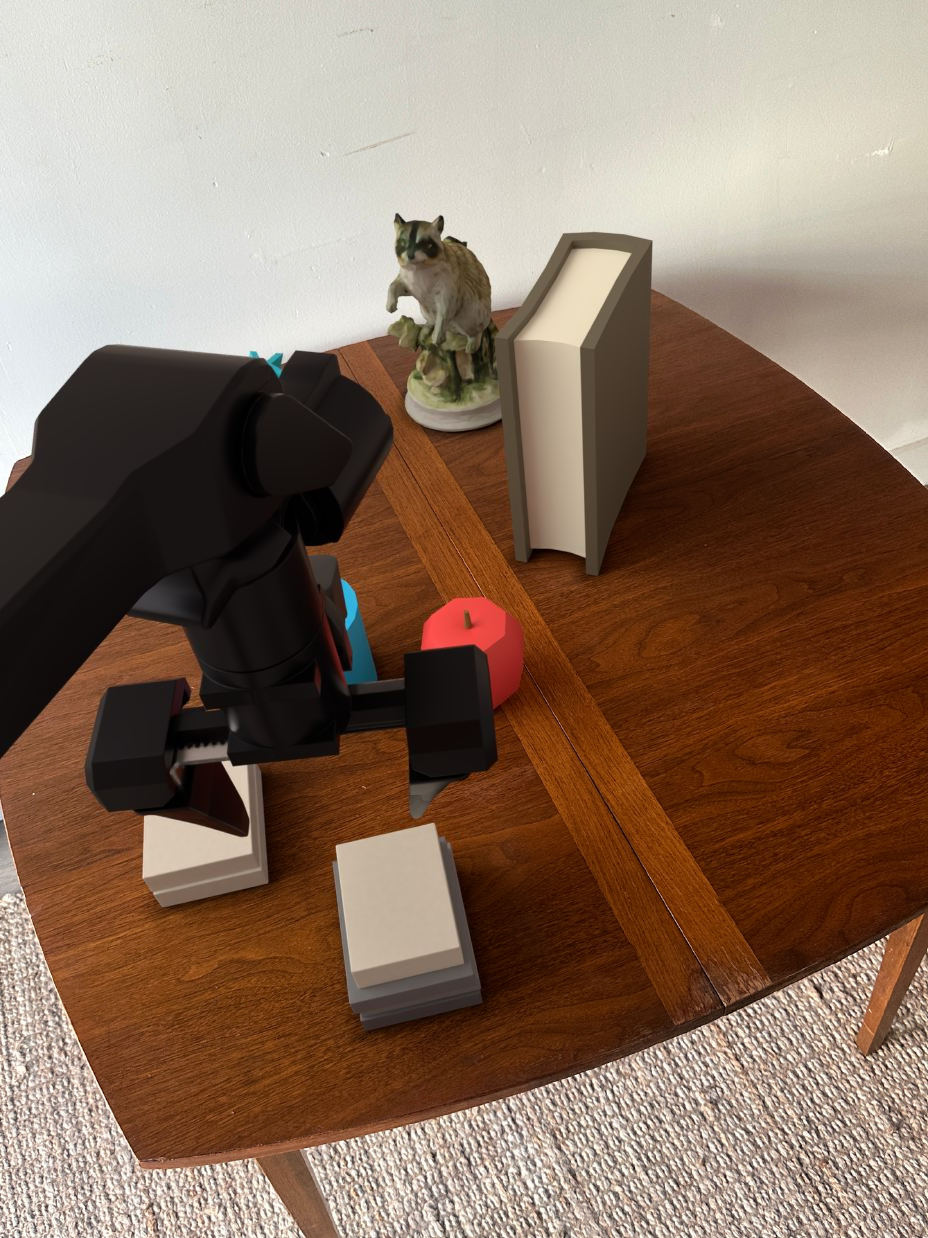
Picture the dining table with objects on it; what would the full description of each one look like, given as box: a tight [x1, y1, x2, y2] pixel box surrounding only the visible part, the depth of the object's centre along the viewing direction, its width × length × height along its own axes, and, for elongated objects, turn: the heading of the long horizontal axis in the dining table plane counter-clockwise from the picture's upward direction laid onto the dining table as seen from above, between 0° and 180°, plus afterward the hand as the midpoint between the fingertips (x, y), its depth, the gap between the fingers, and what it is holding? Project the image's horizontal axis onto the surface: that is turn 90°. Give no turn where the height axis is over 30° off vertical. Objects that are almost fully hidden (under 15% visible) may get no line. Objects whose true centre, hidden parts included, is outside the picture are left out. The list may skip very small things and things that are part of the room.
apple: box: [420, 596, 525, 710], centre depth 73 cm, size 8×8×8 cm
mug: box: [341, 578, 378, 685], centre depth 75 cm, size 12×8×8 cm
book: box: [494, 231, 654, 577], centre depth 80 cm, size 16×7×21 cm, turn 159°
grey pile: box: [332, 835, 484, 1032], centre depth 61 cm, size 9×7×4 cm
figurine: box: [385, 212, 502, 433], centre depth 93 cm, size 12×14×20 cm
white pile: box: [142, 761, 269, 908], centre depth 68 cm, size 9×7×4 cm
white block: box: [335, 822, 464, 989], centre depth 58 cm, size 8×6×2 cm
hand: (331, 819), depth 54 cm, fingers open, 9 cm apart
